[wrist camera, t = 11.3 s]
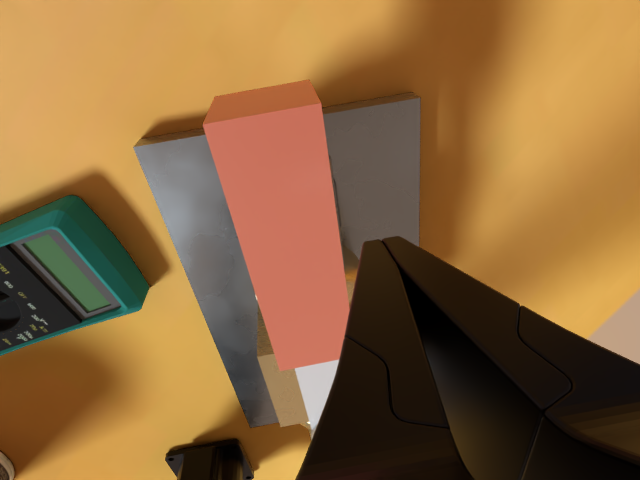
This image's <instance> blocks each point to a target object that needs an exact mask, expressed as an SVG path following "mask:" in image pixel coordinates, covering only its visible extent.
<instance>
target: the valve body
mask: <svg viewBox="0 0 640 480" xmlns="http://www.w3.org/2000/svg"><path fill="white" fill-rule="evenodd" d="M322 112H323V120H324V127H325V134H326V141H327V149H328V156H329V163H330V170H331V178H332V185H333V192H334V199H335V207H336V214H337V221H338V228H339V236H340V243H341V250H342V257H343V265H344V272H345V279H346V286H347V293H348V301H349V308H350V305H351V300H352V295H353V290H354V285H355V280H356V275H357V270H358V265H359V260H360V255H361V250H362V245H363V242H365V241H371V240H376V239H380V240H381V241H382V239H383V238H388V237H393V236H400V237H402V238H404V239H406V240H408V241H409V242H411V243H413V244H415V245H416V246H418V247H419V205H420V97H419V96H417V95H416V94H414V93H413V92H411V93H405V94H399V95H394V96H388V97H382V98H376V99H370V100H364V101H359V102H353V103H347V104H341V105H335V106H330V107H324V108H322ZM133 148H134V150H135V153H136V155H137V157H138V160H139V162H140V165H141V167H142V169H143V172H144V174H145V177H146V179H147V181H148V184H149V186H150V188H151V191H152V193H153V196H154V198H155V200H156V203H157V205H158V208H159V210H160V212H161V215H162V217H163V220H164V222H165V224H166V227H167V229H168V232H169V234H170V236H171V239H172V241H173V244H174V246H175V248H176V251H177V253H178V256H179V258H180V260H181V263H182V265H183V268H184V270H185V272H186V275H187V277H188V280H189V282H190V284H191V287H192V289H193V292H194V294H195V296H196V299H197V301H198V303H199V306H200V308H201V311H202V313H203V315H204V318H205V320H206V323H207V325H208V327H209V330H210V332H211V335H212V337H213V339H214V342H215V344H216V347H217V349H218V351H219V354H220V356H221V359H222V361H223V363H224V366H225V368H226V371H227V373H228V375H229V378H230V380H231V383H232V385H233V387H234V390H235V392H236V395H237V397H238V399H239V402H240V404H241V407H242V409H243V411H244V414H245V416H246V419H247V421H248V423H249V426H250V428H252V427H257V426H262V425H268V424H273V423H278V422H279V423H280V426H281V427H285V426H290V425H295V424H301V425H302V426H304V427H306V428H307V429H308V431H309V434H310V438H311V426H310V422H309V418H308V415H307V411H306V408H305V404H304V400H303V397H302V393H301V390H300V386H299V383H298V379H297V375H296V372H295V368H294V369H289V370H284V371H280V370H279V367H278V364H277V361H276V357H275V354H274V351H273V348H272V345H271V341H270V338H269V335H268V332H267V329H266V326H265V322H264V319H263V316H262V313H261V310H260V306H259V303H258V300H257V297H256V294H255V290H254V287H253V284H252V281H251V278H250V275H249V271H248V268H247V265H246V262H245V259H244V255H243V252H242V249H241V246H240V243H239V239H238V236H237V233H236V230H235V227H234V224H233V220H232V217H231V214H230V211H229V208H228V204H227V201H226V198H225V195H224V192H223V188H222V185H221V182H220V179H219V176H218V172H217V169H216V166H215V163H214V160H213V157H212V153H211V150H210V147H209V144H208V141H207V137H206V134H205V131H204V128H201V129H196V130H190V131H184V132H178V133H172V134H167V135H161V136H155V137H149V138H143V139H140V140H139V141H138V142H137V143H136V145H135V146H134V147H133Z"/></svg>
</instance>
